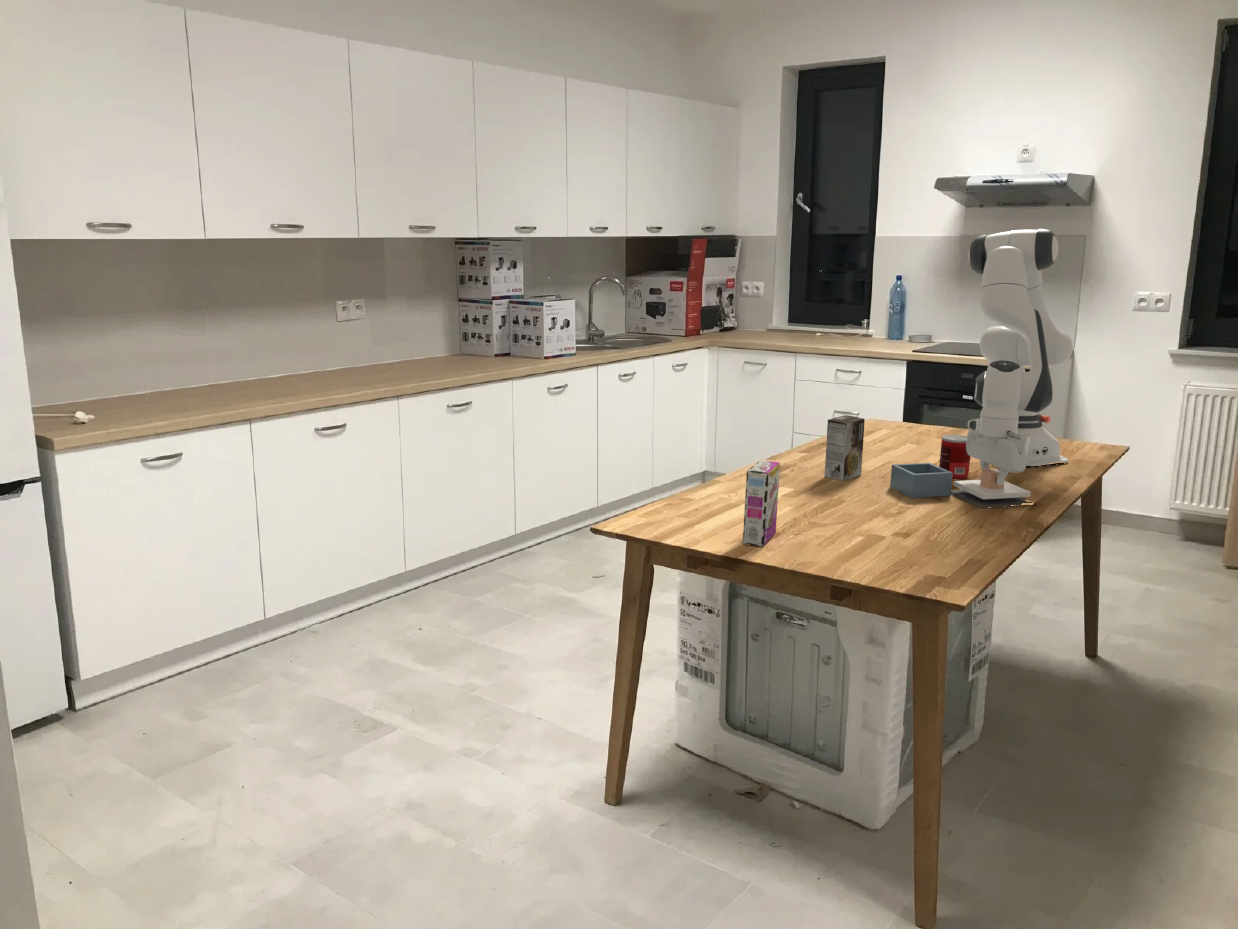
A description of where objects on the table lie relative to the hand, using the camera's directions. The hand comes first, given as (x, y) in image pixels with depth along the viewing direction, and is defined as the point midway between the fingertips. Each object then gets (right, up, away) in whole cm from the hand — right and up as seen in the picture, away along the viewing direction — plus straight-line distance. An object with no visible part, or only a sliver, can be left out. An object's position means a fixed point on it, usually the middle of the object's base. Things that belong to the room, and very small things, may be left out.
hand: (992, 481), depth 242 cm
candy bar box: (-63, -12, -32) cm, 72 cm away
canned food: (-2, +1, +22) cm, 23 cm away
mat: (0, -4, +1) cm, 5 cm away
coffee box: (-33, +1, +22) cm, 39 cm away
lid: (0, -2, +1) cm, 3 cm away
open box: (-16, -3, +7) cm, 18 cm away
